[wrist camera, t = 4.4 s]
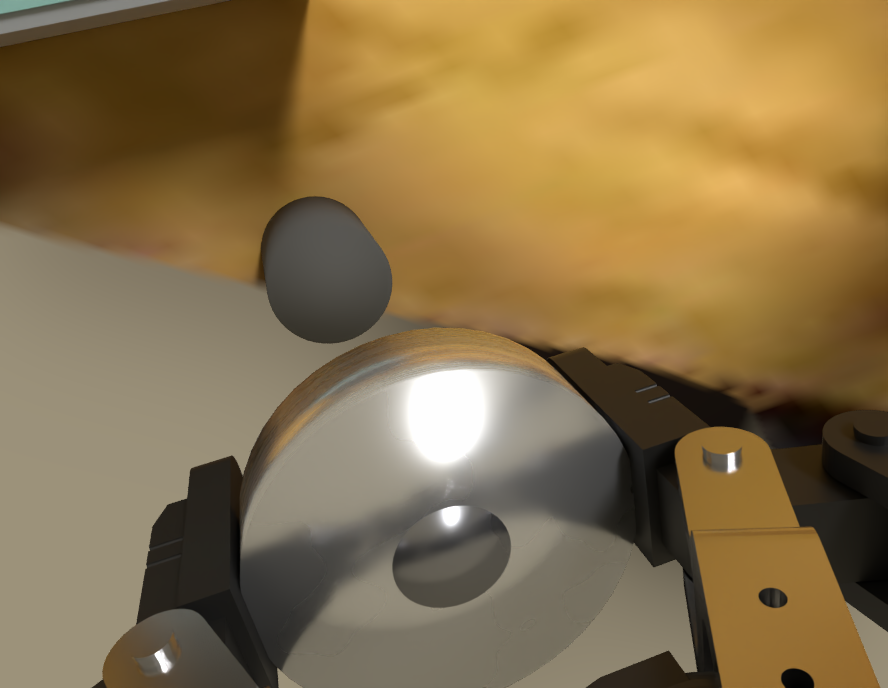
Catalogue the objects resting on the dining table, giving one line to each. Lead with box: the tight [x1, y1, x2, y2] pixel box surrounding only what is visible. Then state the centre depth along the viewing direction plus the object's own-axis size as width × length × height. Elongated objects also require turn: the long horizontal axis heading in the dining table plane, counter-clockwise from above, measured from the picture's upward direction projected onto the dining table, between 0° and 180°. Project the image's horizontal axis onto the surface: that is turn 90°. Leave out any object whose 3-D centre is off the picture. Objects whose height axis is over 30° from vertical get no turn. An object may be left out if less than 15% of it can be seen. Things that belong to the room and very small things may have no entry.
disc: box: [239, 328, 637, 688], centre depth 11 cm, size 6×6×2 cm
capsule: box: [261, 197, 392, 343], centre depth 25 cm, size 4×4×4 cm
